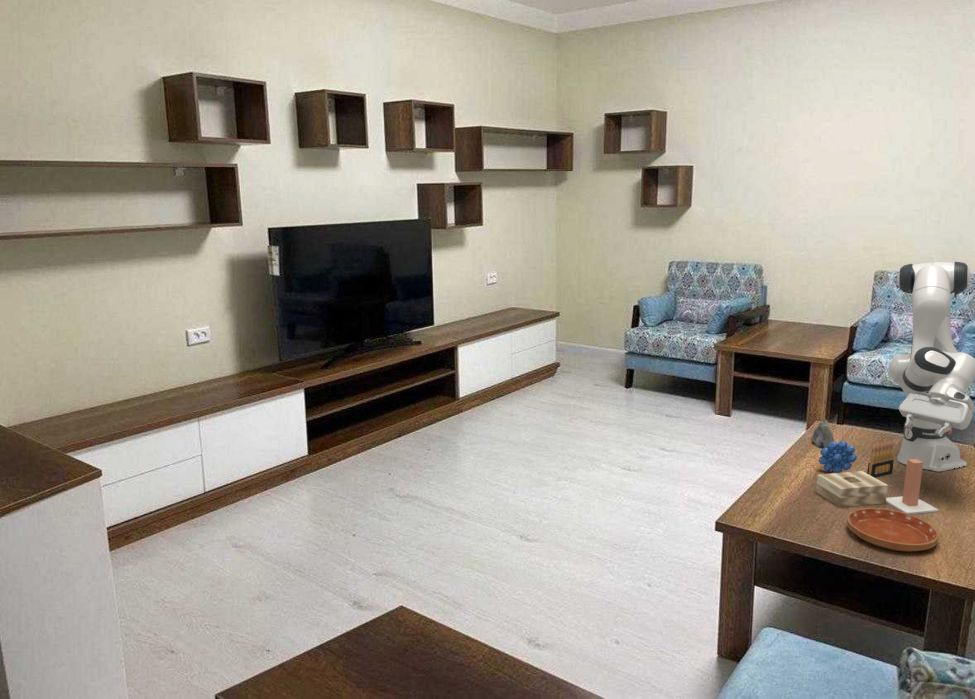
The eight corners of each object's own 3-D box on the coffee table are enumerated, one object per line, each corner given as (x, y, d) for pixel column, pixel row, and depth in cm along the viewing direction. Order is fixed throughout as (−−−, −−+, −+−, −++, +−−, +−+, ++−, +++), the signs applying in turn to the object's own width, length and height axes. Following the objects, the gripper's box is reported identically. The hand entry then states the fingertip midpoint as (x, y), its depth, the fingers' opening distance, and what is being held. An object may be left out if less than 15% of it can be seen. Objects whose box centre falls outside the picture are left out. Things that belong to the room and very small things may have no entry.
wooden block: (910, 501, 236) (915, 459, 233) (917, 505, 233) (923, 462, 230) (902, 502, 235) (907, 459, 232) (909, 506, 232) (914, 463, 229)
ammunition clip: (871, 478, 256) (875, 445, 253) (866, 476, 257) (870, 443, 255) (892, 473, 260) (896, 440, 258) (887, 471, 262) (891, 438, 259)
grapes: (855, 472, 262) (858, 438, 259) (854, 478, 256) (858, 444, 253) (818, 466, 267) (821, 434, 264) (817, 472, 261) (820, 439, 258)
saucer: (945, 535, 215) (947, 523, 215) (925, 564, 199) (927, 551, 198) (860, 512, 230) (861, 501, 229) (834, 538, 214) (836, 526, 213)
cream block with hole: (861, 488, 248) (863, 470, 247) (887, 503, 236) (889, 485, 235) (816, 492, 245) (817, 474, 243) (839, 507, 233) (841, 489, 232)
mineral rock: (816, 436, 299) (819, 412, 296) (844, 442, 291) (847, 417, 289) (802, 444, 290) (805, 419, 287) (831, 451, 282) (834, 425, 280)
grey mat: (912, 497, 241) (912, 495, 241) (938, 511, 230) (938, 509, 230) (881, 499, 239) (881, 498, 239) (906, 514, 228) (906, 512, 228)
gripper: (908, 384, 245) (886, 417, 242) (974, 397, 228) (952, 433, 225) (914, 396, 248) (893, 429, 245) (980, 410, 231) (959, 445, 228)
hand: (922, 431), depth 235 cm, fingers open, 8 cm apart
